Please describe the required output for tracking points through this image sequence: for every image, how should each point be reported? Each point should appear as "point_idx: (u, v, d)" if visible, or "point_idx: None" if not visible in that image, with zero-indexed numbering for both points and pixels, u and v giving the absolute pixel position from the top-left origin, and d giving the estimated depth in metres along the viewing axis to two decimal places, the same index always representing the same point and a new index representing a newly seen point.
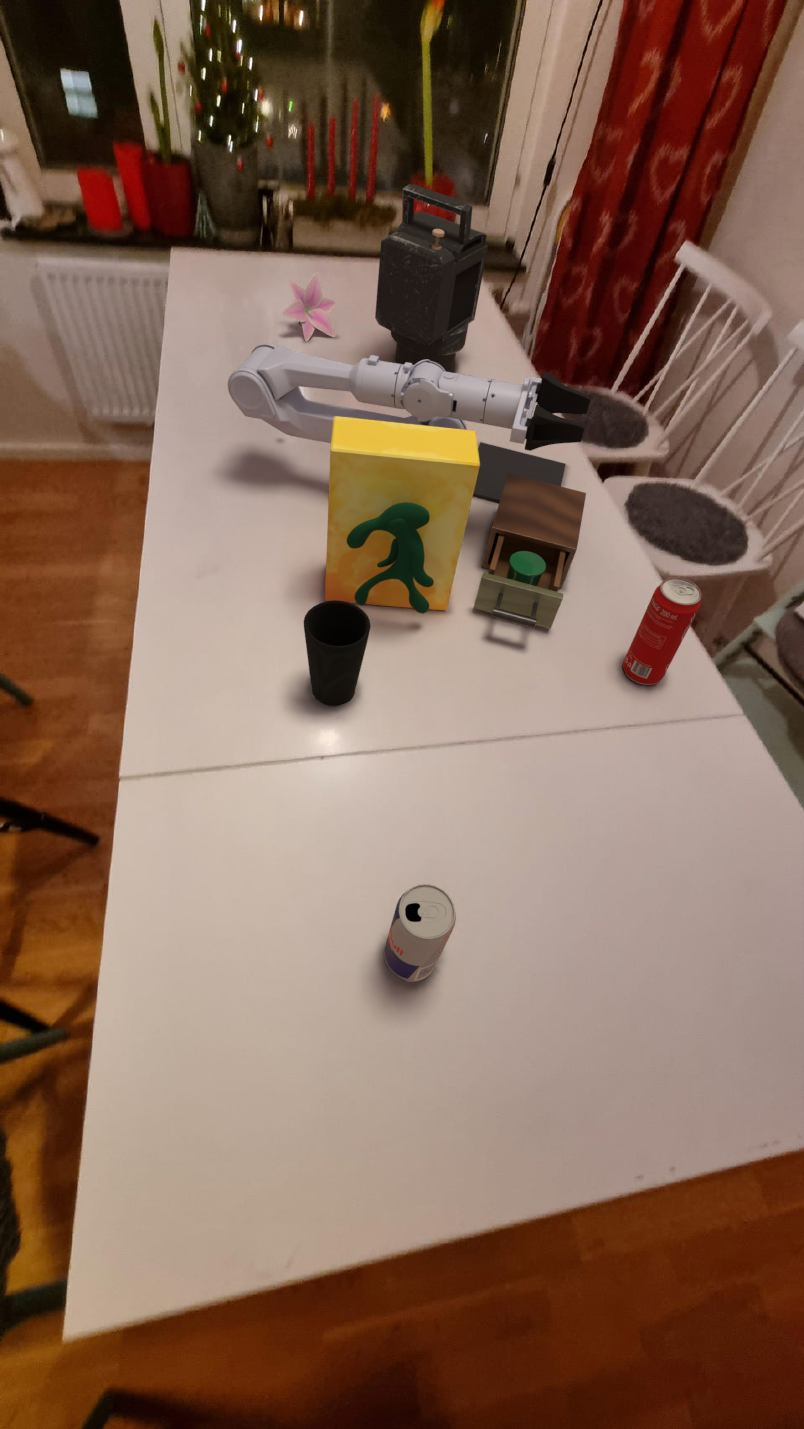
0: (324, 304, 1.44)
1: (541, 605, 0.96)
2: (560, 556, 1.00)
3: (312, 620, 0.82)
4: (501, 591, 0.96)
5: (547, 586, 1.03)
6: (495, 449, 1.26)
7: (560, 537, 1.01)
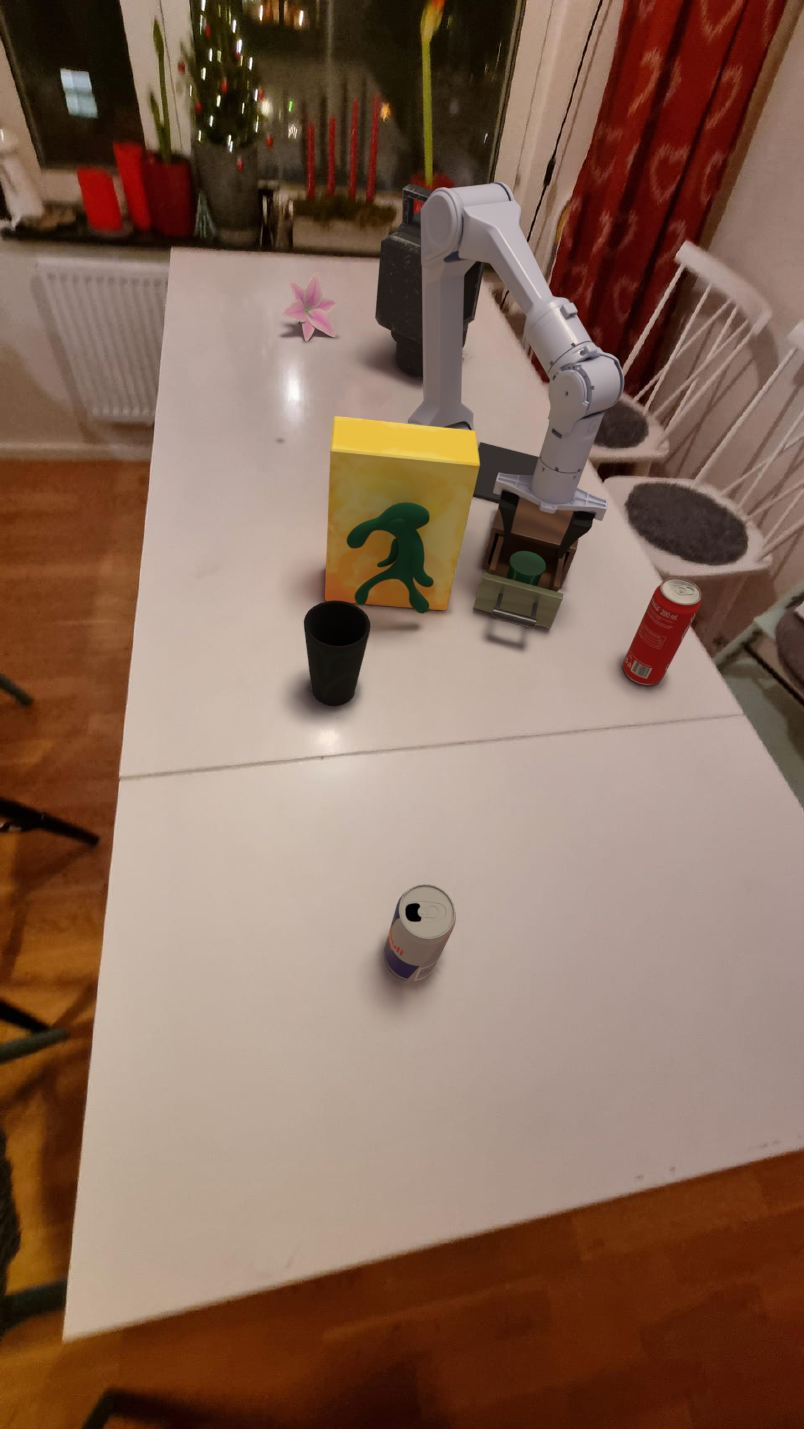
0: (324, 304, 1.44)
1: (541, 605, 0.96)
2: None
3: (312, 620, 0.82)
4: (501, 591, 0.96)
5: (547, 586, 1.03)
6: (495, 449, 1.26)
7: (560, 537, 1.01)
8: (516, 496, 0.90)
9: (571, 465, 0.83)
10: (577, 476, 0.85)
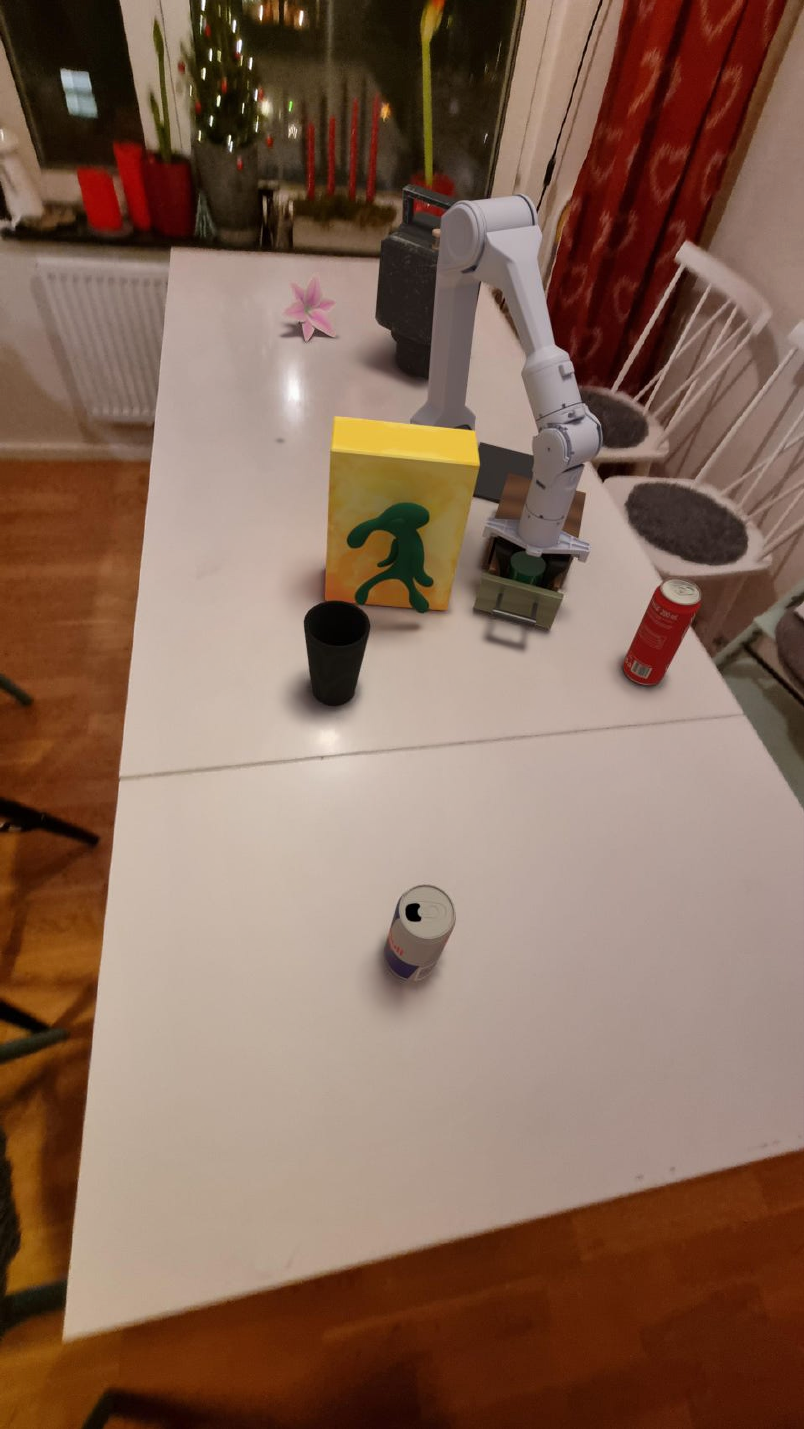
0: (324, 304, 1.44)
1: (541, 605, 0.96)
2: None
3: (312, 620, 0.82)
4: (501, 591, 0.96)
5: (547, 586, 1.03)
6: (495, 449, 1.26)
7: None
8: (511, 541, 0.95)
9: (554, 513, 0.88)
10: (561, 522, 0.90)
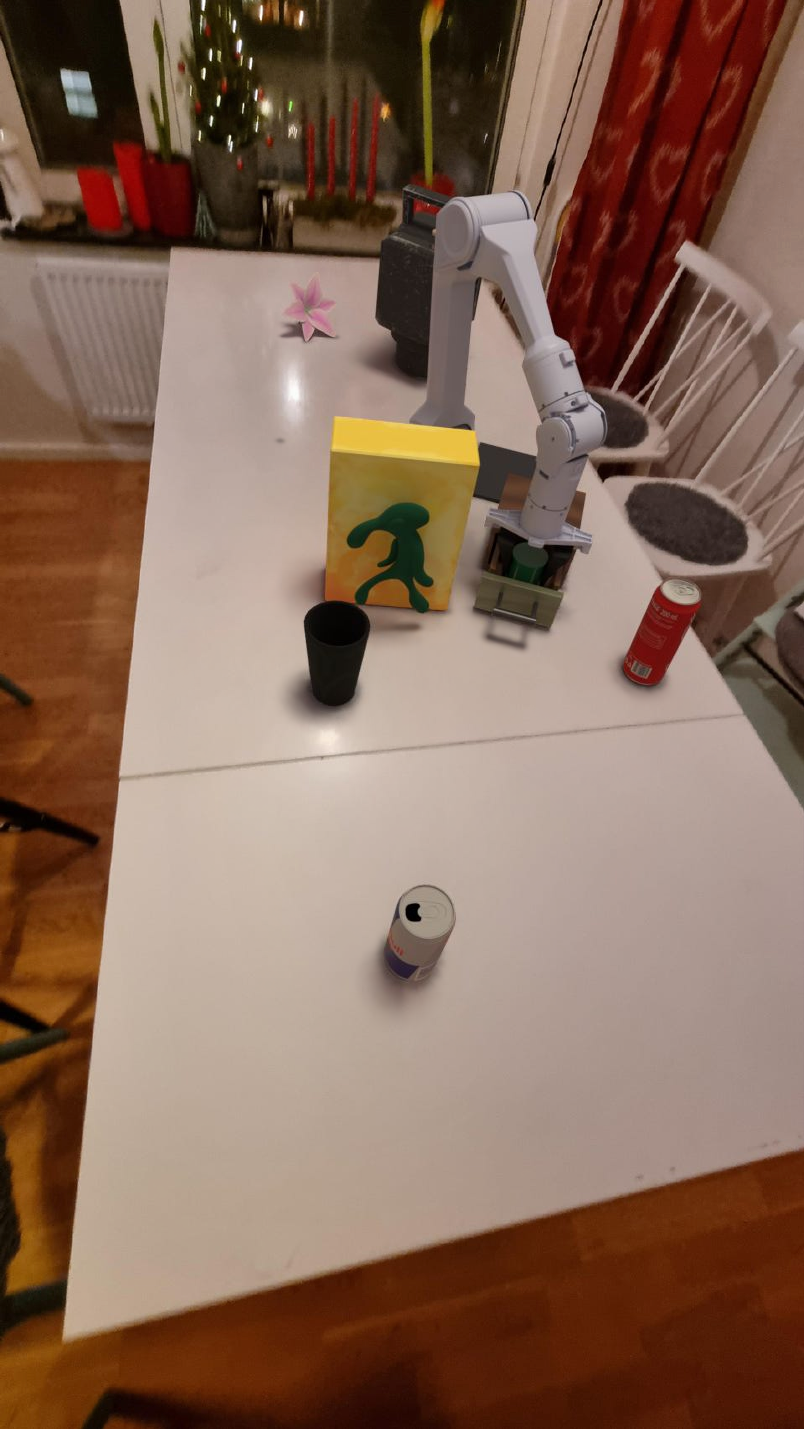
0: (324, 304, 1.44)
1: (541, 604, 0.96)
2: None
3: (312, 620, 0.82)
4: (501, 590, 0.96)
5: (547, 585, 1.03)
6: (495, 449, 1.26)
7: None
8: (514, 532, 0.94)
9: (558, 504, 0.87)
10: (563, 513, 0.89)
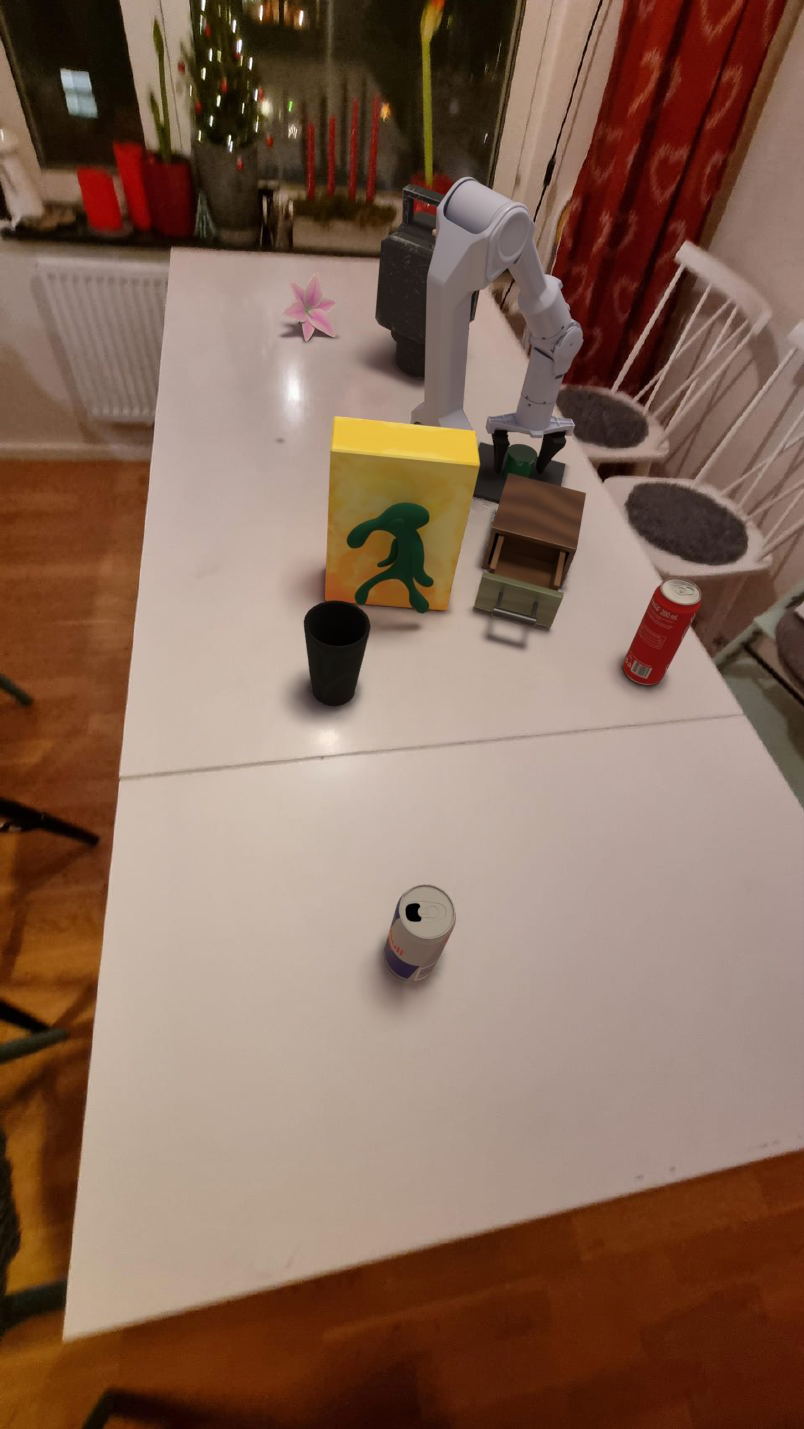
0: (324, 304, 1.44)
1: (541, 604, 0.96)
2: (560, 555, 1.00)
3: (312, 620, 0.82)
4: (501, 590, 0.96)
5: (547, 585, 1.03)
6: None
7: (560, 537, 1.01)
8: (506, 432, 1.13)
9: None
10: (554, 404, 1.10)
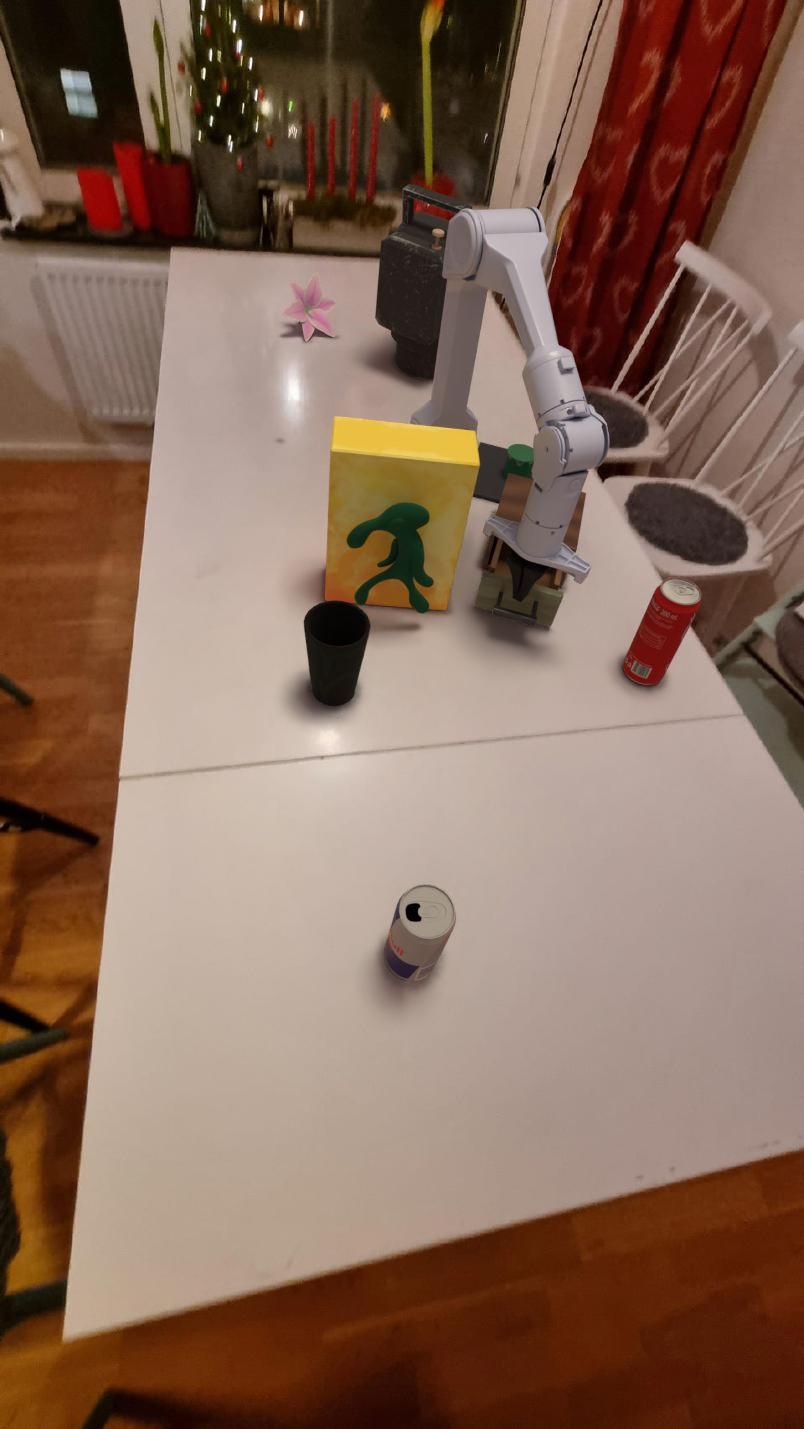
0: (324, 304, 1.44)
1: (541, 603, 0.97)
2: None
3: (312, 620, 0.82)
4: (501, 589, 0.96)
5: (547, 584, 1.03)
6: (495, 449, 1.26)
7: None
8: None
9: (552, 520, 0.81)
10: None
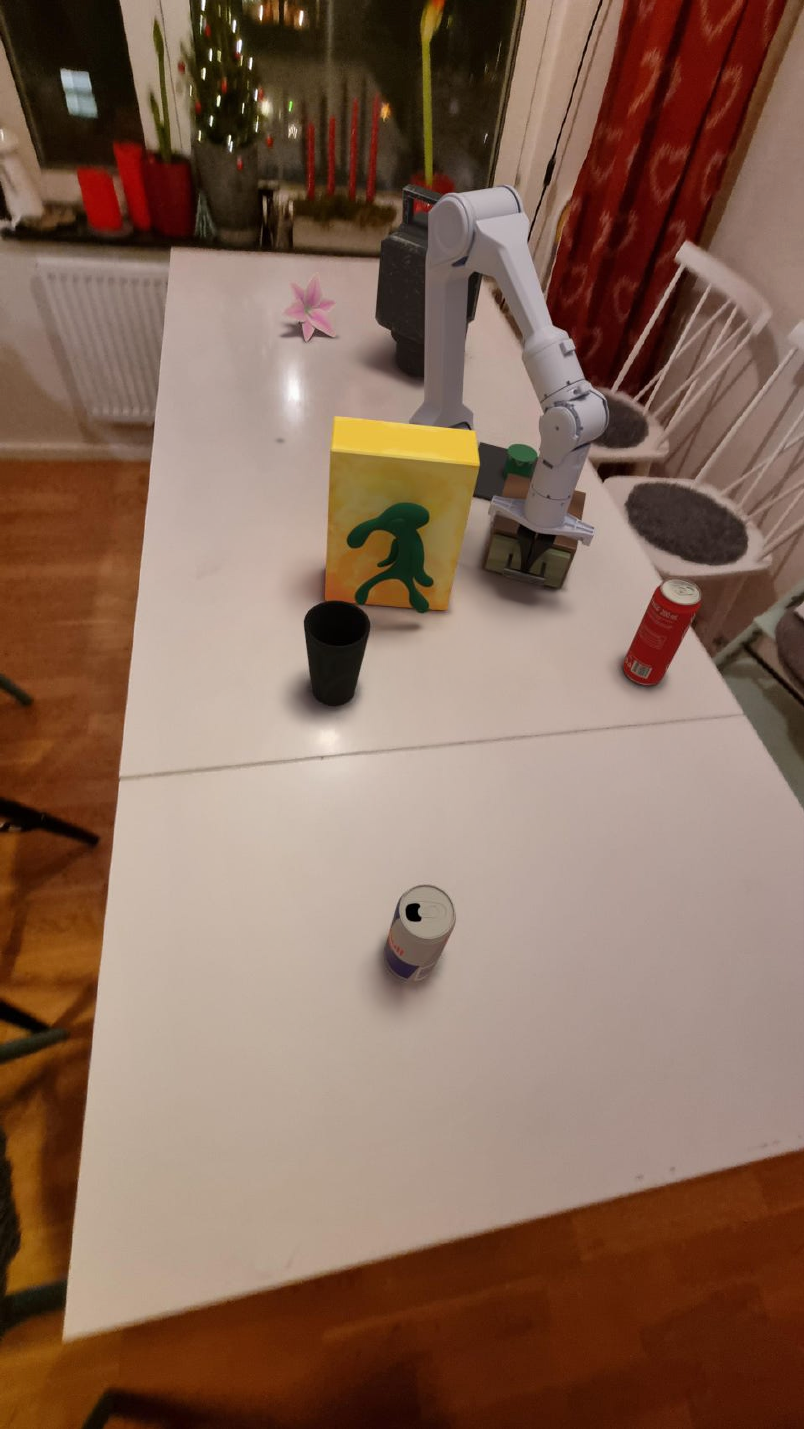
0: (324, 304, 1.44)
1: (549, 565, 1.02)
2: None
3: (312, 620, 0.82)
4: (511, 551, 1.02)
5: (554, 549, 1.08)
6: (495, 449, 1.26)
7: (560, 537, 1.01)
8: None
9: (562, 492, 0.88)
10: None
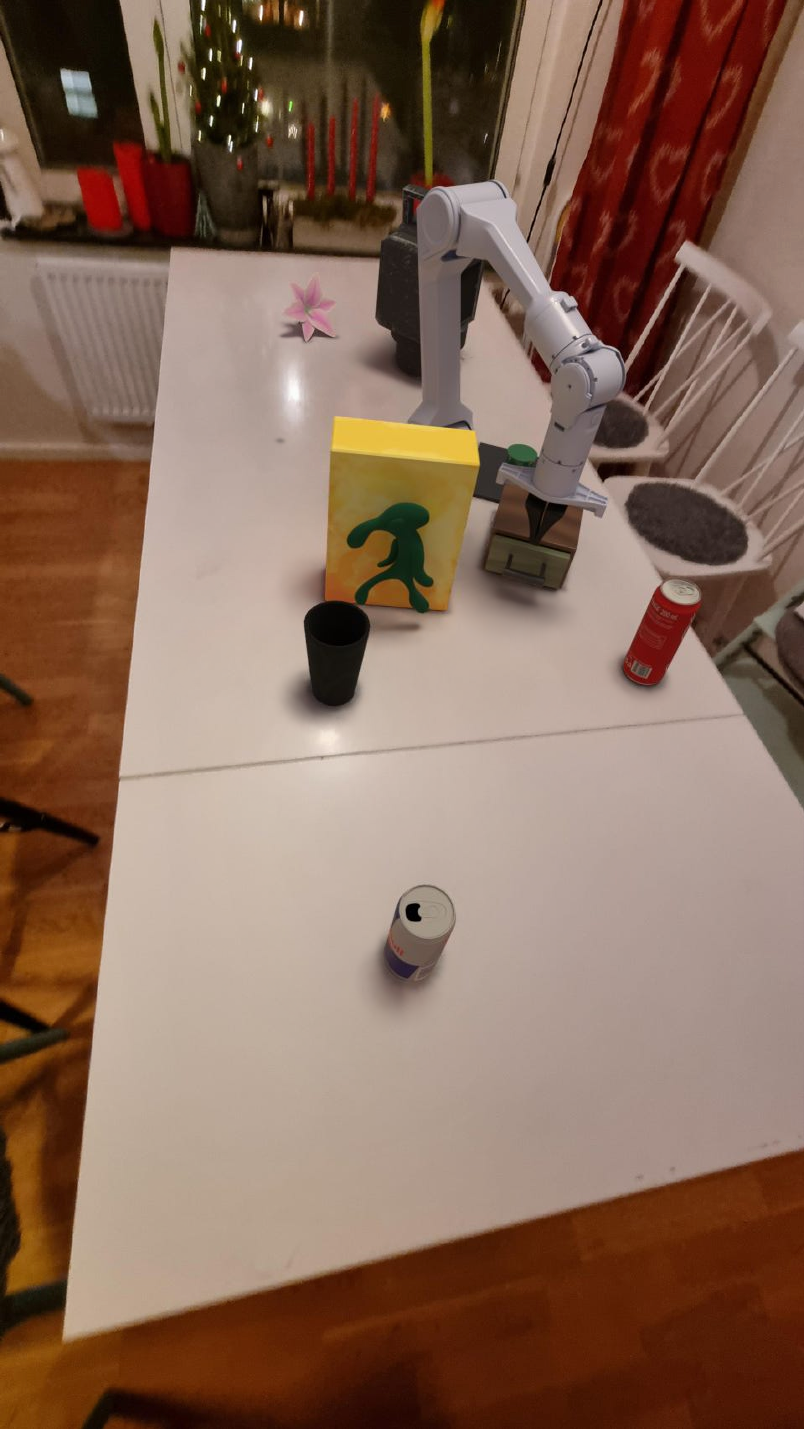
0: (324, 304, 1.44)
1: (549, 566, 1.02)
2: None
3: (312, 620, 0.82)
4: (511, 552, 1.02)
5: (554, 550, 1.08)
6: (495, 449, 1.26)
7: (560, 537, 1.01)
8: None
9: (574, 458, 0.83)
10: None
